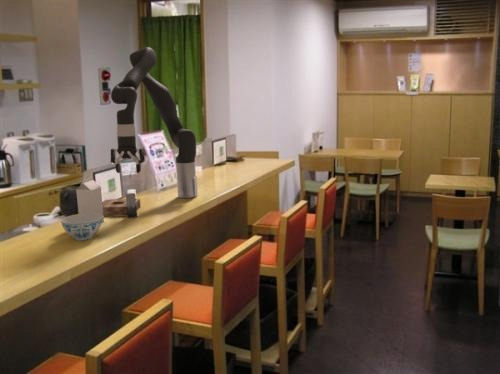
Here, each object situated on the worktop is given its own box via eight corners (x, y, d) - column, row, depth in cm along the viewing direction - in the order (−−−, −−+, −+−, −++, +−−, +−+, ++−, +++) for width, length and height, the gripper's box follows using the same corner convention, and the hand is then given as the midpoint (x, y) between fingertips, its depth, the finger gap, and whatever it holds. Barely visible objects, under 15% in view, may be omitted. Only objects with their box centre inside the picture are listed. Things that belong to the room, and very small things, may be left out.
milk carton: (104, 222, 244) (100, 177, 240) (94, 226, 237) (90, 180, 233) (89, 221, 246) (85, 177, 242) (79, 225, 239) (75, 180, 236)
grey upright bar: (138, 215, 253) (136, 193, 251) (135, 217, 249) (133, 194, 247) (128, 215, 253) (127, 193, 251) (126, 218, 249) (124, 195, 248)
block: (140, 207, 269) (139, 198, 268) (131, 215, 253) (130, 206, 253) (106, 207, 270) (105, 199, 269) (95, 216, 254) (94, 207, 254)
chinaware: (93, 244, 212) (91, 223, 211) (55, 243, 215) (53, 223, 213) (110, 232, 227) (108, 213, 225) (74, 232, 229) (72, 213, 228)
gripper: (145, 134, 249) (147, 171, 252) (113, 134, 251) (115, 171, 254) (139, 135, 242) (141, 174, 245) (106, 135, 244) (109, 174, 247)
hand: (128, 172), depth 249 cm, fingers open, 8 cm apart
